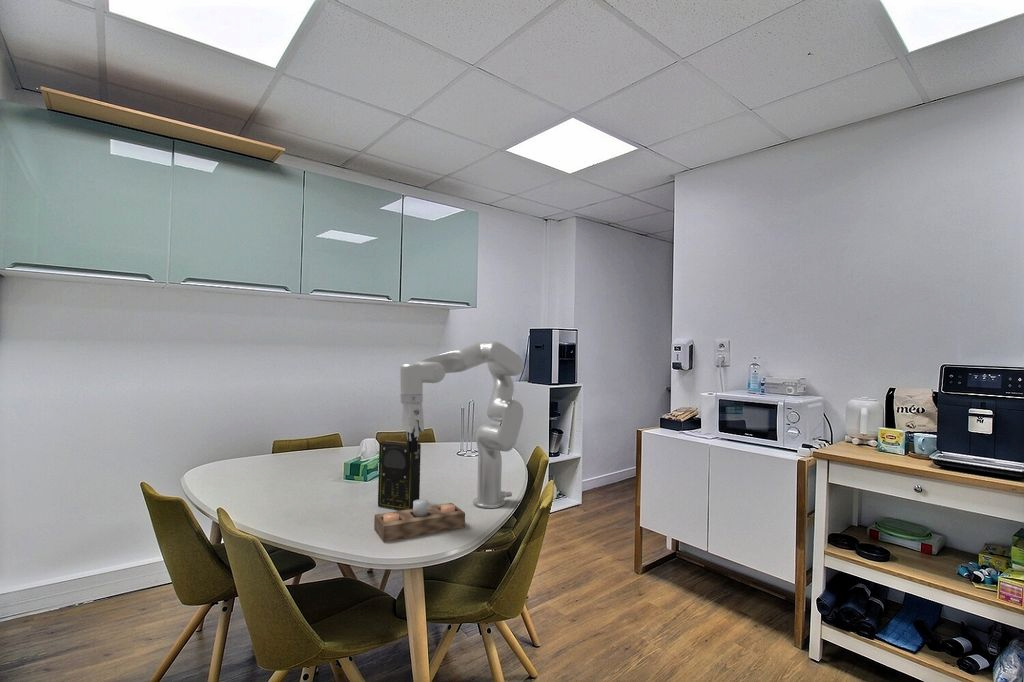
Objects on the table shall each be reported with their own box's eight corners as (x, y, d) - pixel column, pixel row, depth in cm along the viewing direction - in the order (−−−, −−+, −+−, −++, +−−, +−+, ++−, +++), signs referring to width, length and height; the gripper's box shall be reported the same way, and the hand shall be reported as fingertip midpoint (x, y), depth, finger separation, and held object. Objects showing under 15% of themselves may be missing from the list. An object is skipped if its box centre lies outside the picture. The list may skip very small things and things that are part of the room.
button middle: (424, 512, 165) (425, 498, 165) (429, 517, 161) (430, 502, 161) (410, 515, 163) (411, 500, 163) (415, 519, 158) (415, 504, 158)
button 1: (396, 526, 160) (396, 511, 160) (400, 531, 156) (401, 516, 156) (381, 529, 158) (381, 514, 158) (385, 534, 153) (385, 518, 153)
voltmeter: (375, 507, 182) (376, 442, 183) (388, 500, 190) (389, 438, 191) (410, 513, 177) (411, 445, 177) (422, 506, 185) (423, 441, 185)
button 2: (451, 517, 170) (451, 503, 170) (456, 521, 166) (457, 507, 166) (438, 519, 168) (438, 505, 168) (443, 524, 163) (443, 509, 163)
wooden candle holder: (451, 516, 174) (451, 502, 174) (464, 527, 163) (465, 512, 164) (374, 529, 160) (374, 514, 160) (383, 542, 150) (383, 526, 150)
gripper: (429, 400, 159) (430, 455, 160) (415, 396, 172) (415, 446, 173) (407, 402, 156) (408, 458, 156) (394, 397, 169) (395, 449, 169)
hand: (412, 451), depth 164 cm, fingers closed
